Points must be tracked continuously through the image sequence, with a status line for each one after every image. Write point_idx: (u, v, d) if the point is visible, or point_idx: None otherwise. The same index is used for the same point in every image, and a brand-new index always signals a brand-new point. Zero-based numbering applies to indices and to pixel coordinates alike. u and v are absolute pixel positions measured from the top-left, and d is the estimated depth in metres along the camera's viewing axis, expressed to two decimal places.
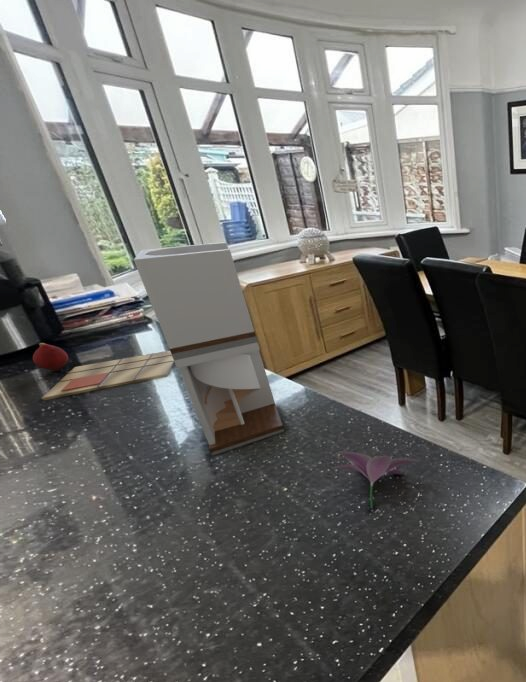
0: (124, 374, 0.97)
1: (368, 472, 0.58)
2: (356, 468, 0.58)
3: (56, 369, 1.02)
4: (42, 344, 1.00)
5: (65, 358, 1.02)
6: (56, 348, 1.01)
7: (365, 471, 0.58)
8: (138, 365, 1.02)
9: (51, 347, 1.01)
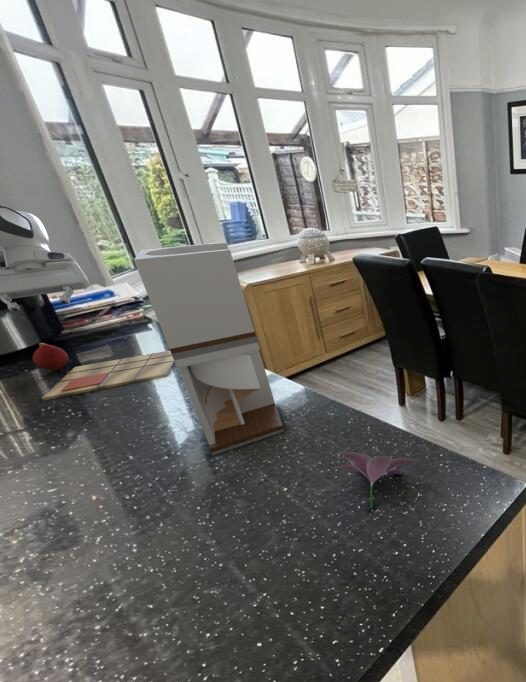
0: (124, 374, 0.97)
1: (368, 472, 0.58)
2: (356, 468, 0.58)
3: (56, 369, 1.02)
4: (42, 344, 1.00)
5: (65, 358, 1.02)
6: (56, 348, 1.01)
7: (365, 471, 0.58)
8: (138, 365, 1.02)
9: (51, 347, 1.01)
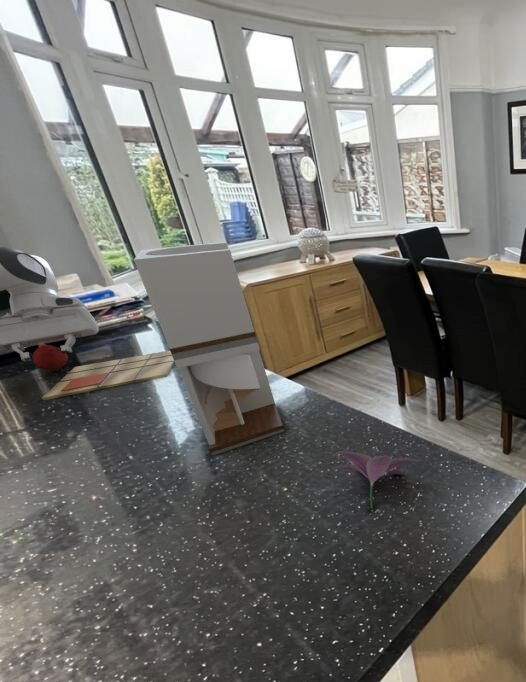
0: (124, 374, 0.97)
1: (368, 472, 0.58)
2: (356, 468, 0.58)
3: (56, 369, 1.02)
4: (41, 344, 0.99)
5: (64, 358, 1.02)
6: (55, 348, 1.01)
7: (365, 471, 0.58)
8: (138, 365, 1.02)
9: (50, 347, 1.00)
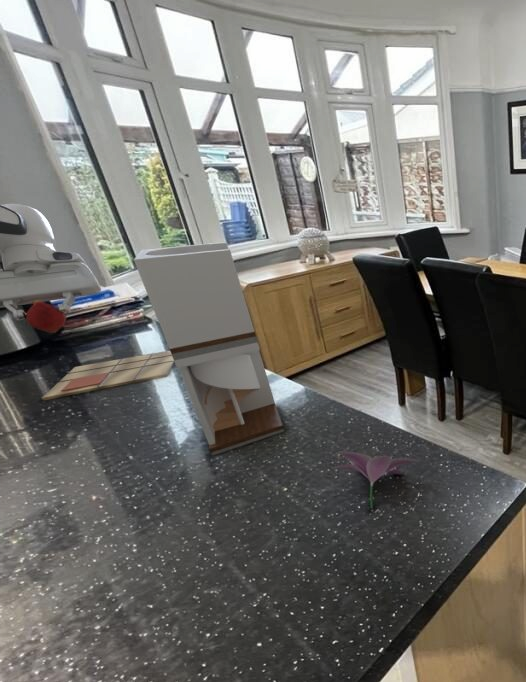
0: (124, 374, 0.97)
1: (368, 472, 0.58)
2: (356, 468, 0.58)
3: (53, 330, 0.91)
4: (36, 301, 0.89)
5: (62, 318, 0.92)
6: (52, 306, 0.90)
7: (365, 471, 0.58)
8: (138, 365, 1.02)
9: (46, 305, 0.90)
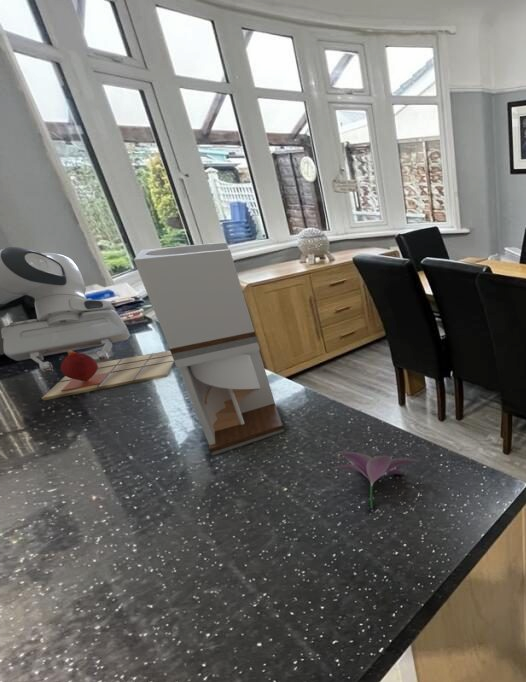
0: (124, 374, 0.97)
1: (368, 472, 0.58)
2: (356, 468, 0.58)
3: (85, 379, 0.93)
4: (71, 352, 0.91)
5: (95, 367, 0.94)
6: (86, 356, 0.92)
7: (365, 471, 0.58)
8: (138, 365, 1.02)
9: (81, 355, 0.92)
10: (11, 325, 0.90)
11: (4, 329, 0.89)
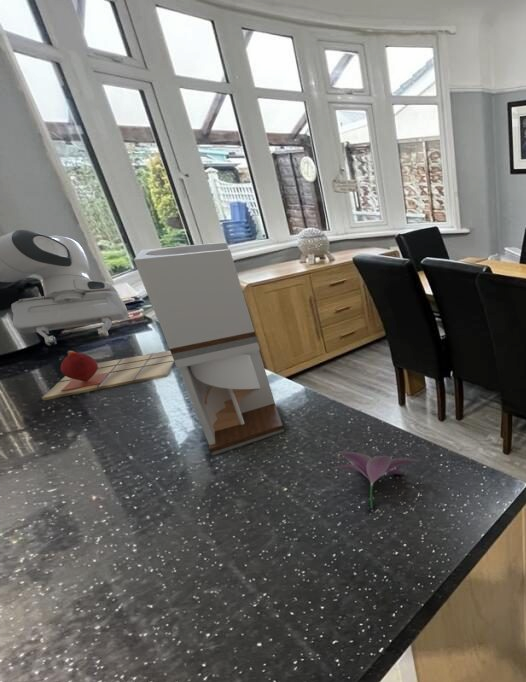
0: (124, 374, 0.97)
1: (368, 472, 0.58)
2: (356, 468, 0.58)
3: (85, 379, 0.93)
4: (71, 352, 0.91)
5: (95, 367, 0.94)
6: (86, 356, 0.92)
7: (365, 471, 0.58)
8: (138, 365, 1.02)
9: (80, 355, 0.92)
10: (20, 301, 0.98)
11: (14, 304, 0.97)
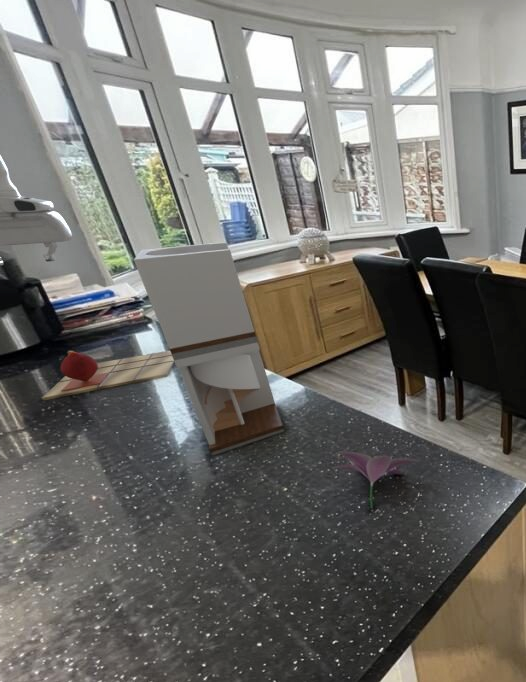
0: (124, 374, 0.97)
1: (368, 472, 0.58)
2: (356, 468, 0.58)
3: (85, 379, 0.93)
4: (71, 352, 0.91)
5: (95, 367, 0.94)
6: (86, 356, 0.92)
7: (365, 471, 0.58)
8: (138, 365, 1.02)
9: (80, 355, 0.92)
10: None
11: None
